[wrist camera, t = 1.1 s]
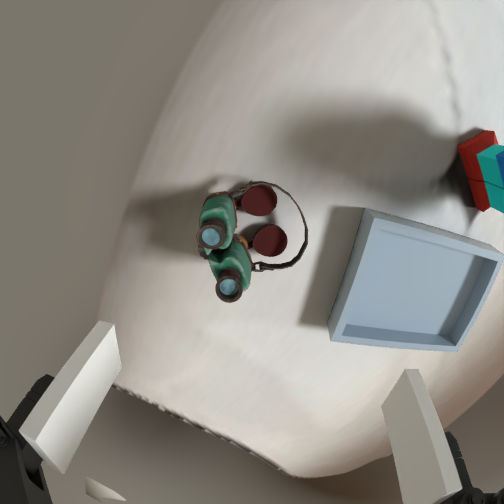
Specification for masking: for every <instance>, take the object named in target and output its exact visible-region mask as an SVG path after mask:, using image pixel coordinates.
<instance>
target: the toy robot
mask: <svg viewBox="0 0 504 504" xmlns="http://www.w3.org/2000/svg"><path fill="white" fill-rule="evenodd" d="M457 147H458V150H459V153H460V156H461V159H462V161H463V164H464V168H465V171H466V174H467V177H468V180H469V184H470V187H471V191H472V194H473V198H474V202H475V206H476V208H477V209H479V210H481V211H482V212H484V211H485V210H487V209H488V208H490V207H492V208H494V209H496V210H498V211H500V212H502V213H504V146H501V145H498V142H497V139H496V135H495V132H494V131H488V130H486V131H484V132H482V133H480V134H478V135H476V136H475V137H473V138H471V139H469V140H467V141H465V142H464V143H462V144H460V145H458V146H457Z"/></svg>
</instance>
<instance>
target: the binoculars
mask: <svg viewBox="0 0 504 504" xmlns="http://www.w3.org/2000/svg"><path fill="white" fill-rule="evenodd" d="M271 186H273V187H277V188H278V189H280V190H281V191H282V192H284V193H285V194H287V195H288V196H290V197H291V195H290V194H289V193H288V192H286V191H285V190H283V189H282V188H280V187H279V186H277V185H276V184H272V183H267V182H263V181H260V182H255V183H252V180H251V181H250V183H249V184H247V186H246V187H243V188H240V189H238V190H236V191H234V192H232V193H229V192H226V191H224V192H217V193H214V194H211V195H210V196H208V197H207V198H206V200H205V202H204V204H203V210H202V212H201V215H200V220H199V227H200V229H199V231H198V233H197V241H198V243H199V245H198V247H199V249H198V252H200V256H202V257H203V258H204V259H208V260H209V264H210V267H211V270H212V272H213V274H214V276H215V278H216V280H217V284H216V294H217V296H218V297H219V298H220V299H221V300H222V301H224V302H229V303H231V302H235V301H237V300H238V299H239V298H240V297H241V295H242V292H243V291H245V290H246V289H248V287H249V285H250V279H251V272H252V271H255V272H263V271H264V270H272V271H273V270H274V269H284V268H288V267H292V266H293V265H294V264H295V263H296V262H297V261H299V260H300V258H301V256H302V254H303V253H304V251H305V249H306V247H307V245H308V228H307V225H306V222H305V218H304V216H303V214H302V212H301V210H300V208H299V206H298V204H297V203H296V202H295V200H294V199H293V198H292V197H291V199H292V200H293V201H294V203H295V204H296V205H297V207H298V209H299V211H300V213H301V216H302V219H303V222H304V225H305V241H304V243H303V245H302V247H301V249H300V251H299V253H298V255H297V256H296V257H294V258H293V259H292V260H291V261H290V262H286V263H282V264H267V263H264V262H255V263H253V262H252V260H251V256H250V254H249V251H248V250H249V249H250V248H252V247H254V249H255V250H256V251H257V252H258V253H260V254H261V255H264V256H268V257H274V256H277V255H280V254H281V253H282V252H283V251H284V250H285V248H286V246H287V236H286V234H285V232H284V231H283V230H282V229H281V228H280V227H279V226H277V225H273V224H269V225H265V226H263V227H261V228H260V229H259V230H258V231H257V232H256V233H255V235H254V237H253V240H252V241H249V242H248V241H247V239H246V238H244V237H243V236H241V235H237V234H234V231H235V228H237V225H236V224H237V217H236V209H237V207H239V206H242V208H243V210H244V211H246V212H247V213H249V214H251V215H254V216H265V215H267V214H269V213H271V212H272V211H273V210H274V208H275V207H276V204H277V196H276V193H275V192H274V190H273V189H272V187H271ZM236 193H237V194H236ZM239 195H242V196H241V199H238V200H236V201H235V200H234V198H233V197H236V196H239ZM256 264H259V267H260V270H257V269H256V267H255V265H256Z"/></svg>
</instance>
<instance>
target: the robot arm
mask: <svg viewBox="0 0 504 504" xmlns="http://www.w3.org/2000/svg"><path fill="white" fill-rule="evenodd" d="M121 368H122V366H121V361H120V356H119V351H118V345H117V340H116V334H115V328H114V324H111V323H107V322H104V321H100V320H99V322H98V323H97V324H96V325H95V327H94V328H93V329H92V330H91V332H90V333H89V334H88V335H87V337H86V338H85V339H84V340H83V342H82V343H81V344H80V345H79V347H78V348H77V349H76V351H75V352H74V353H73V355H72V356H71V357H70V359H69V360H68V361H67V363H66V364H65V365H64V366H63V368H62V369H61V370H60V372H59V373H58V374H57V376H56V377H55V378H54V377H52V376H50V375H48V374H46V375H45V376H43V377H42V378H40V379H38V380H37V381H36V383H35V384H34V385H33V387H32V388H31V391H29V392H28V393H27V395H26V397H25V398H24V399H23V400H22V402H21V403H20V404H19V406H18V407H17V409H16V410H15V412H14V413H13V414H12V416H11V417H10V419H9V420H8V421H7V422H6V423H5V421H4V420H3V418H2V417H1V416H0V504H53V503H52V500H51V497H50V494H49V491H48V487H47V484H46V481H45V477H44V473H43V470H42V467H41V465H40V464H41V462H42V460H43V461H44V462H45V463H46V464H47V465H48V466H49V467H51V468H53V469H55V470H57V471H58V472H60V473H62V474H64V473H65V471H66V469H67V467H68V465H69V463H70V461H71V459H72V457H73V455H74V453H75V451H76V449H77V447H78V445H79V443H80V442H81V440H82V438H83V436H84V434H85V432H86V430H87V428H88V426H89V424H90V423H91V421H92V419H93V417H94V415H95V414H96V412H97V410H98V408H99V406H100V404H101V403H102V401H103V399H104V397H105V395H106V394H107V392H108V390H109V388H110V387H111V385H112V383H113V381H114V380H115V378H116V376H117V374H118V373H119V371H120V369H121ZM381 407H382V411H383V415H384V418H385V422H386V426H387V430H388V434H389V438H390V442H391V447H392V451H393V455H394V460H395V464H396V469H397V474H398V479H399V483H400V489H401V494H402V500H403V504H504V488H503V489H502V490H500V491H499V492H498V493H486V494H484V493H483V492H482V491H481V490H480V489H478V488H473V486H472V484H471V482H470V479H469V475H468V472H467V469H466V466H465V463H464V460H463V459H462V454H461V451H459V450H460V449H459V446H458V443H457V440H456V439H455V438H454V436H453V435H452V434H451V433H450V432H444V431H443V428H442V426H441V423H440V420H439V418H438V415H437V413H436V410H435V408H434V405H433V403H432V400H431V398H430V396H429V393H428V391H427V389H426V386H425V384H424V382H423V379H422V377H421V375H420V373H419V370H418V369H405V370H404V372H403V373H402V375H401V377H400V378H399V380H398V381H397V383H396V385H395V386H394V388H393V389H392V391H391V392H390V394H389V395H388V397H387V398H386V400H385V401H384V403H383V404H382V406H381Z"/></svg>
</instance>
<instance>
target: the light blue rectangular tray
mask: <svg viewBox="0 0 504 504" xmlns="http://www.w3.org/2000/svg"><path fill="white" fill-rule="evenodd" d="M503 260H504V254H502V253H501V252H500V251H498V250H497V249H495V248H494V247H493V246H491V245H489V244H486V243H483V242H480V241H477V240H474V239H471V238H468V237H465V236H462V235H459V234H456V233H453V232H449V231H446V230H443V229H440V228H436V227H433V226H429V225H426V224H423V223H419V222H416V221H412V220H408V219H405V218H401V217H398V216H394V215H390V214H386V213H383V212H379V211H375V210H371V209H367V208H364V212H363V215H362V219H361V222H360V226H359V229H358V233H357V236H356V240H355V243H354V246H353V249H352V253H351V256H350V259H349V262H348V265H347V268H346V271H345V274H344V277H343V280H342V283H341V286H340V289H339V292H338V295H337V298H336V301H335V303H334V306H333V309H332V312H331V315H330V317H329V320H328V323H327V325H328V330H329V335H330V340H331V341H334V342H342V343H350V344H359V345H368V346H378V347H389V348H400V349H413V350H428V351H448V352H457V351H458V350H459V348H460V346H461V345H462V343H463V341H464V340H465V338H466V336H467V335H468V333H469V331H470V329H471V328H472V326H473V324H474V322H475V320H476V318H477V317H478V315H479V313H480V311H481V309H482V307H483V305H484V303H485V301H486V299H487V297H488V295H489V292H490V290H491V288H492V286H493V284H494V282H495V279H496V277H497V275H498V272H499V270H500V268H501V265H502V263H503Z"/></svg>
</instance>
